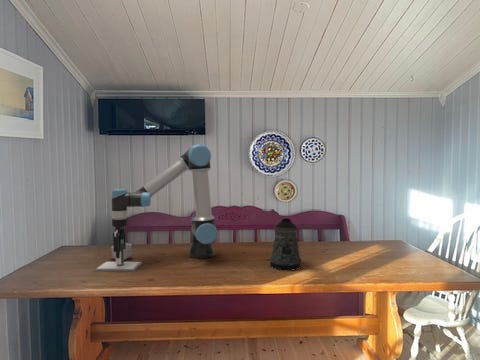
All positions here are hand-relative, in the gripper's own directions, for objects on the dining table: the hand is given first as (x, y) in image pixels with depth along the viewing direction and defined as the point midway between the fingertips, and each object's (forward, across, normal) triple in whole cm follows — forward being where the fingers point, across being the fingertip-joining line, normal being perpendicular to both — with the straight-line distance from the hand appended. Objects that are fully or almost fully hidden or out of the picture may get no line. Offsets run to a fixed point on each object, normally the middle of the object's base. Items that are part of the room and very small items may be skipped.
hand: (119, 262), depth 183 cm
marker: (+1, 0, 0) cm, 1 cm away
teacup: (+2, -17, -4) cm, 18 cm away
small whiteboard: (+2, 0, 0) cm, 2 cm away
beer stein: (+2, -5, +87) cm, 87 cm away
